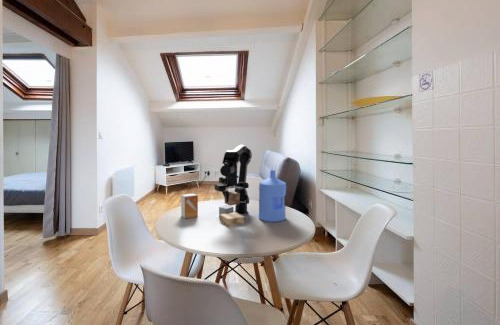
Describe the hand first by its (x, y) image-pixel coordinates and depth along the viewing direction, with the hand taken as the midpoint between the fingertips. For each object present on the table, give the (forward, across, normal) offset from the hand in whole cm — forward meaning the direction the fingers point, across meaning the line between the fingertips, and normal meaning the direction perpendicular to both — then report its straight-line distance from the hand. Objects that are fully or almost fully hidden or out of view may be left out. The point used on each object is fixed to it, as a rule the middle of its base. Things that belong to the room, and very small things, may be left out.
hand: (231, 201), depth 140 cm
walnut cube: (+1, 0, 0) cm, 1 cm away
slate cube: (+12, -2, -10) cm, 15 cm away
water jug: (+12, -23, +7) cm, 27 cm away
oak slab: (+12, 0, 0) cm, 12 cm away
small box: (+12, +16, -22) cm, 30 cm away
